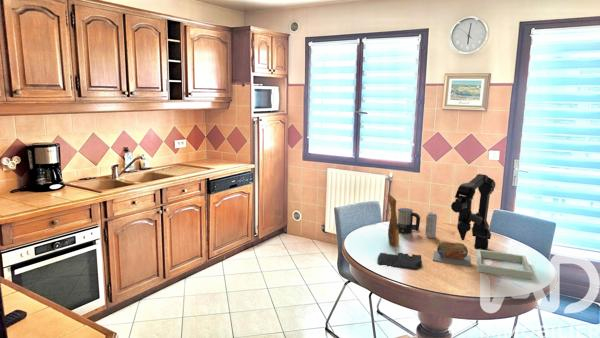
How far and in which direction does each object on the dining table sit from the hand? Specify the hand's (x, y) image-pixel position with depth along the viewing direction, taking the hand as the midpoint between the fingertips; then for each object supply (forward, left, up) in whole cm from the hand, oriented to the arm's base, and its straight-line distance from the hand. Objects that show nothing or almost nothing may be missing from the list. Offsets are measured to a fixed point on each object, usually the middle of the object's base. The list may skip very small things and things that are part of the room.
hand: (463, 237), depth 214 cm
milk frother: (-32, +36, -12) cm, 50 cm away
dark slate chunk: (-30, -19, -12) cm, 37 cm away
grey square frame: (+19, -4, -12) cm, 23 cm away
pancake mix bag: (-38, +10, -12) cm, 41 cm away
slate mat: (-5, -3, -12) cm, 13 cm away
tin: (-5, -3, -11) cm, 12 cm away
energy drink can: (-18, +30, -12) cm, 37 cm away
